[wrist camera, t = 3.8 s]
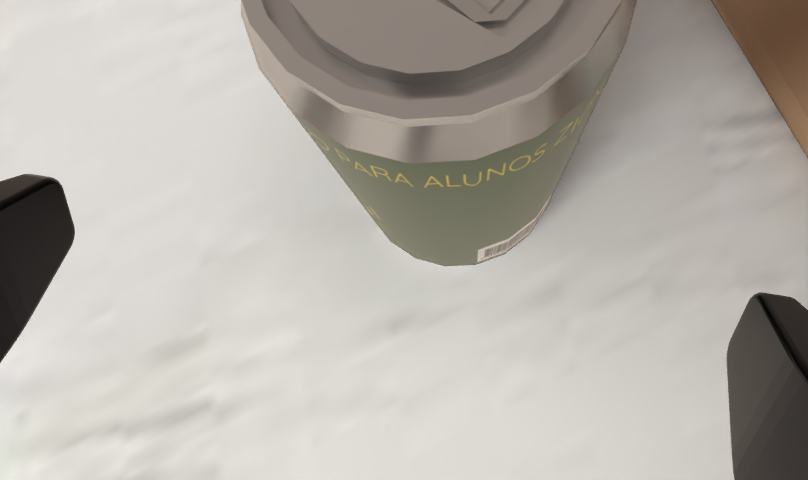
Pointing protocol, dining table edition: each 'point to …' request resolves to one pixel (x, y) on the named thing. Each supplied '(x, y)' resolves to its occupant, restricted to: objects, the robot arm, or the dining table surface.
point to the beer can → (443, 105)
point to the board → (775, 52)
